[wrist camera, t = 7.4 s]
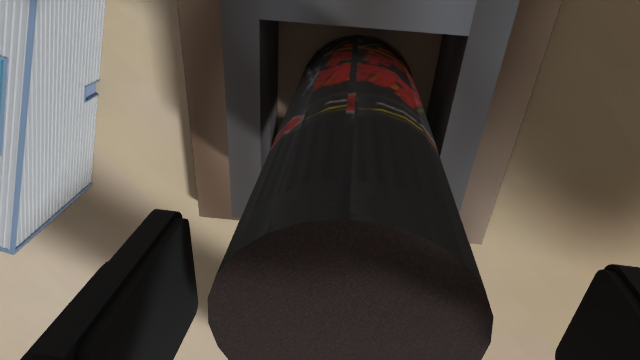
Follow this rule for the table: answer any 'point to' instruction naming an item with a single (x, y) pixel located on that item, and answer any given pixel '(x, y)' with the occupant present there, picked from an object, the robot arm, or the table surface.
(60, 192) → the warehouse
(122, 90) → the table surface
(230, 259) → the deodorant
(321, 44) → the holder
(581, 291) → the table surface
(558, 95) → the table surface
